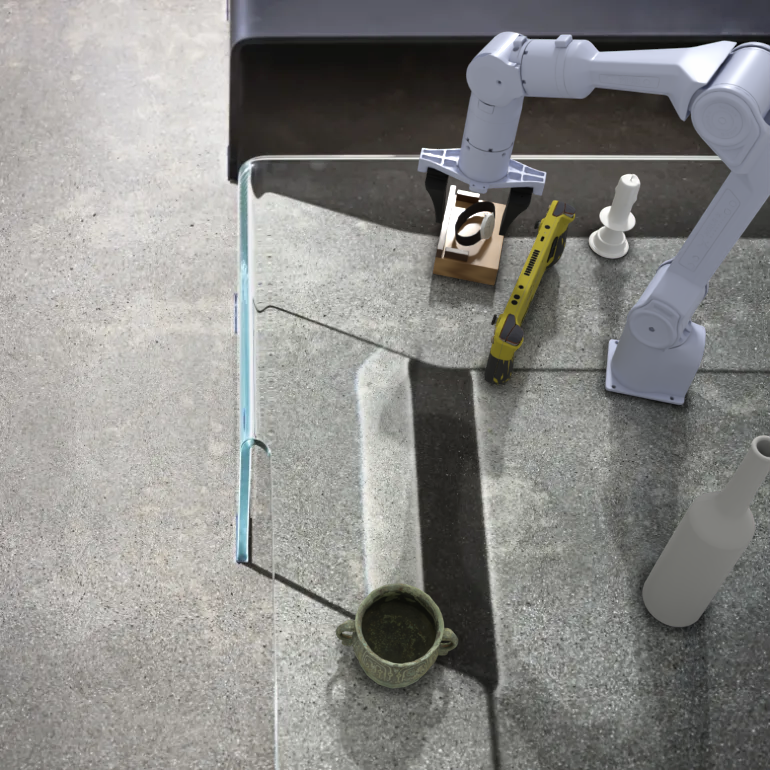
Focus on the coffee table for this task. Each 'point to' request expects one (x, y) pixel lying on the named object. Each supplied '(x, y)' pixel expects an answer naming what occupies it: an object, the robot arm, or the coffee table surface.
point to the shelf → (468, 260)
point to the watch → (486, 224)
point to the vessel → (397, 635)
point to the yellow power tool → (527, 291)
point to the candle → (616, 220)
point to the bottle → (706, 544)
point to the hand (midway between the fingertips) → (470, 223)
